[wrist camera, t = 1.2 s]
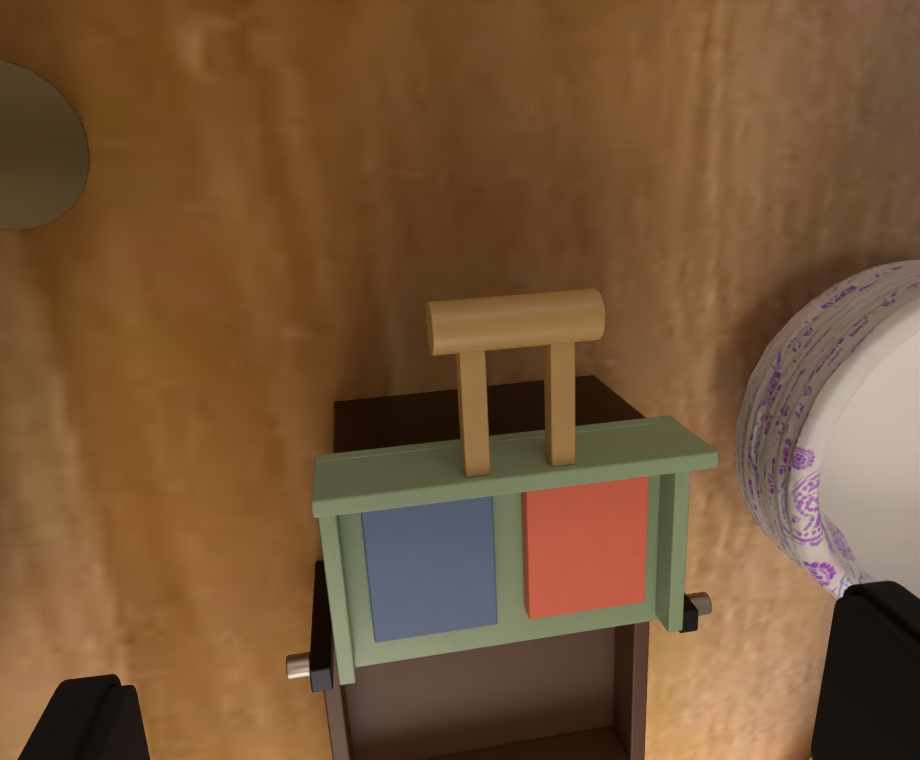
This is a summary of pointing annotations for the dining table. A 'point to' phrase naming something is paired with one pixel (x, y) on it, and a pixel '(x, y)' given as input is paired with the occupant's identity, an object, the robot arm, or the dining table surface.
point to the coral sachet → (584, 546)
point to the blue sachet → (431, 568)
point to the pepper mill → (37, 150)
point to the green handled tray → (507, 480)
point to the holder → (500, 702)
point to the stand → (439, 421)
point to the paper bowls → (840, 433)
